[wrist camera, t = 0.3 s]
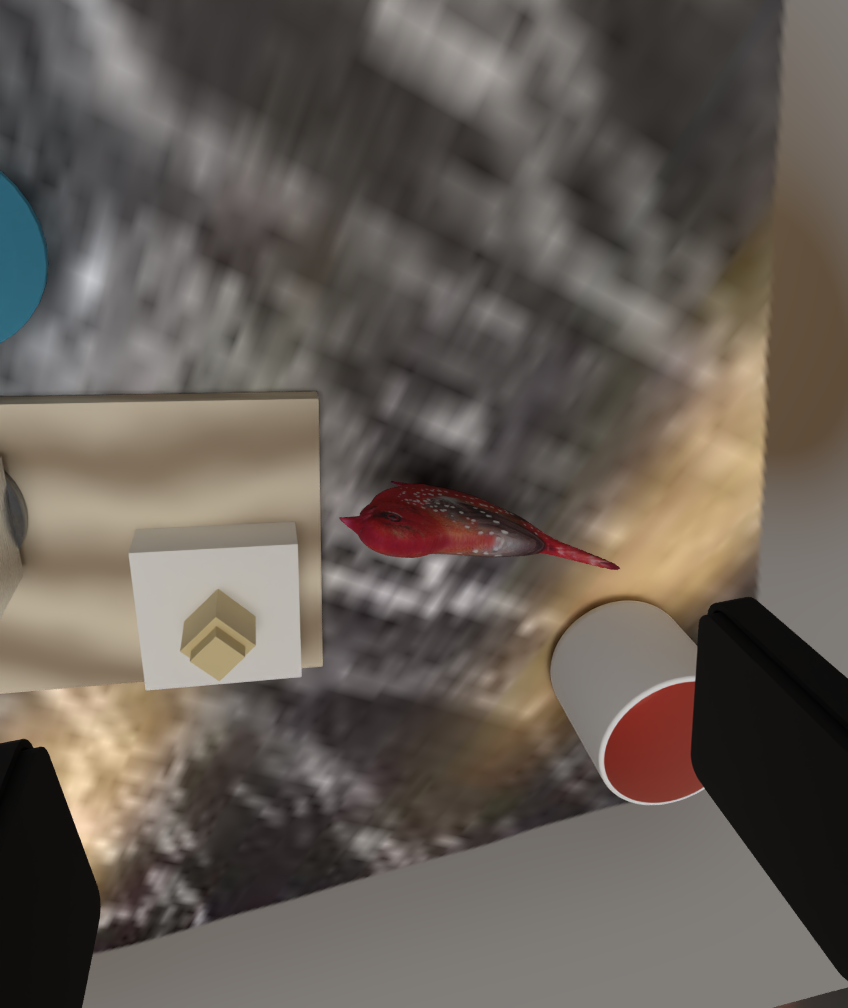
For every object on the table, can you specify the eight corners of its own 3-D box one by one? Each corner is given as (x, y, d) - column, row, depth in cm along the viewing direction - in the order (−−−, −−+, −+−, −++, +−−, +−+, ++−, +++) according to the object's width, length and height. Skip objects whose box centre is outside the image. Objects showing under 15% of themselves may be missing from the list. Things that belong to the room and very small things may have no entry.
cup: (549, 721, 59) (602, 822, 50) (539, 610, 55) (596, 700, 46) (673, 689, 60) (746, 783, 51) (673, 579, 56) (753, 660, 47)
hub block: (135, 529, 45) (117, 590, 39) (295, 521, 47) (301, 578, 41) (151, 660, 49) (137, 736, 42) (298, 648, 50) (305, 719, 44)
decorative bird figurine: (333, 441, 47) (352, 511, 38) (590, 505, 52) (660, 579, 43) (319, 485, 48) (335, 562, 39) (573, 543, 53) (639, 623, 44)
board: (-196, 399, 40) (-211, 408, 39) (316, 391, 45) (318, 398, 44) (-113, 688, 48) (-123, 704, 46) (320, 653, 53) (322, 666, 51)
